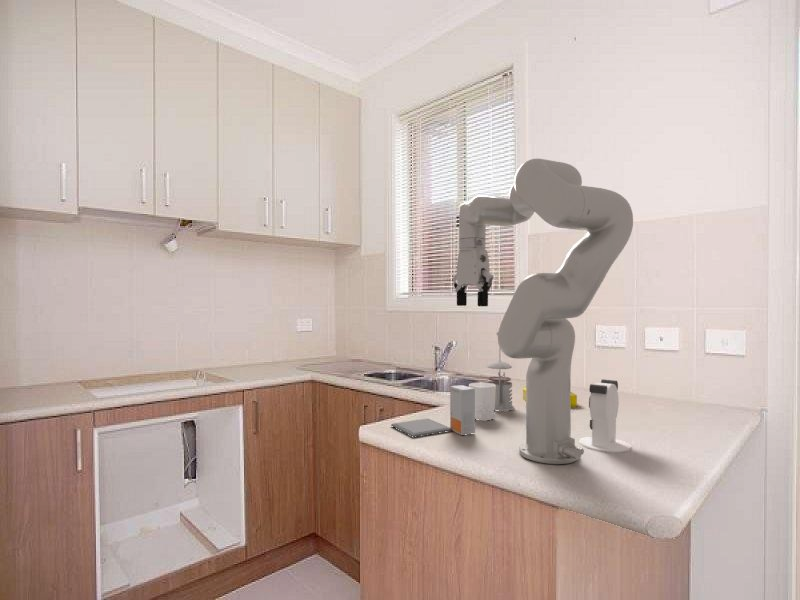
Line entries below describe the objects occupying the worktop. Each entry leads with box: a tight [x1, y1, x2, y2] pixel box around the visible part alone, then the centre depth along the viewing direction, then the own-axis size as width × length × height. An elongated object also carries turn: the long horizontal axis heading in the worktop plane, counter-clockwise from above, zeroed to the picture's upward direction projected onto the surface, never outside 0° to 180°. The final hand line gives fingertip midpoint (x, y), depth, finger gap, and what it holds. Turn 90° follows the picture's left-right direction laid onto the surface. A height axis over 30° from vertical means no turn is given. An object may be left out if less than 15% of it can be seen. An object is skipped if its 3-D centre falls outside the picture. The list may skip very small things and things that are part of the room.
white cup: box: [468, 382, 496, 421], centre depth 134 cm, size 8×8×10 cm
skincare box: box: [449, 384, 476, 436], centre depth 119 cm, size 6×4×12 cm
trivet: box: [390, 418, 452, 437], centre depth 123 cm, size 12×12×1 cm
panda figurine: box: [578, 378, 632, 454], centre depth 109 cm, size 12×11×15 cm
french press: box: [486, 331, 516, 412], centre depth 146 cm, size 10×12×25 cm
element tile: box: [522, 386, 578, 408], centre depth 155 cm, size 15×15×5 cm
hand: (471, 305), depth 129 cm, fingers open, 9 cm apart
